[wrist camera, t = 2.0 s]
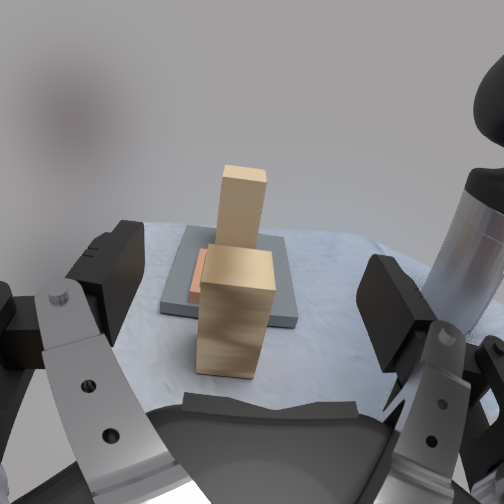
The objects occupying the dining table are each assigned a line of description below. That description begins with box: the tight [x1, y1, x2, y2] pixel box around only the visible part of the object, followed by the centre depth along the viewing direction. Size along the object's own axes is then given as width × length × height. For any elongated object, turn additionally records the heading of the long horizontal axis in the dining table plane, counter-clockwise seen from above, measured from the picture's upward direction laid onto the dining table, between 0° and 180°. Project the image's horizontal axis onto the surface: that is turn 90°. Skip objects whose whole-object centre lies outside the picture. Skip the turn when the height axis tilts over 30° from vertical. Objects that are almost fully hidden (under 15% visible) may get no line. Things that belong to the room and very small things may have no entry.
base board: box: [160, 165, 298, 328], centre depth 36 cm, size 14×17×12 cm
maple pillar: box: [196, 244, 276, 379], centre depth 26 cm, size 5×5×10 cm
